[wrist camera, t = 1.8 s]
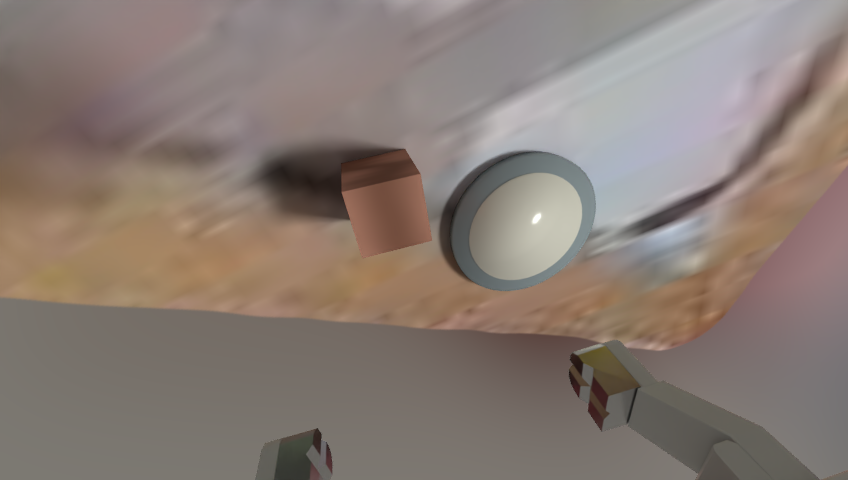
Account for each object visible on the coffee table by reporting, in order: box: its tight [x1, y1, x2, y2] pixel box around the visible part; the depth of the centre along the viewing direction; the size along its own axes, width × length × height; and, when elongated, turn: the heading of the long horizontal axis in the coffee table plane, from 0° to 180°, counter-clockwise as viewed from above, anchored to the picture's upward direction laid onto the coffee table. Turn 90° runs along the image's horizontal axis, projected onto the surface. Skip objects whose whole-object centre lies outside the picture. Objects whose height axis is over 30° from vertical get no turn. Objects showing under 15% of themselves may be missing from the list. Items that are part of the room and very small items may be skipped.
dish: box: [450, 152, 596, 291], centre depth 32 cm, size 14×14×1 cm
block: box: [341, 149, 432, 258], centre depth 25 cm, size 5×5×6 cm
